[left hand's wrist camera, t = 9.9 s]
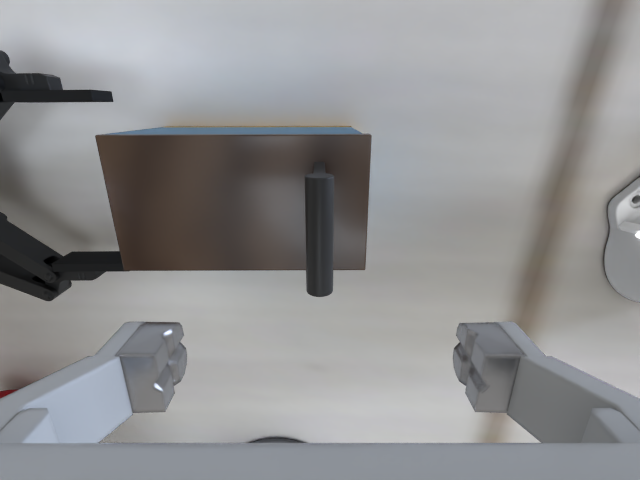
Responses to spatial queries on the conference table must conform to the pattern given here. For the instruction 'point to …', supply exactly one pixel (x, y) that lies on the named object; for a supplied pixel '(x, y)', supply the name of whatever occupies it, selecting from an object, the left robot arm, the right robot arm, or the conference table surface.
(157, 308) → the conference table surface
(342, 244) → the lid
